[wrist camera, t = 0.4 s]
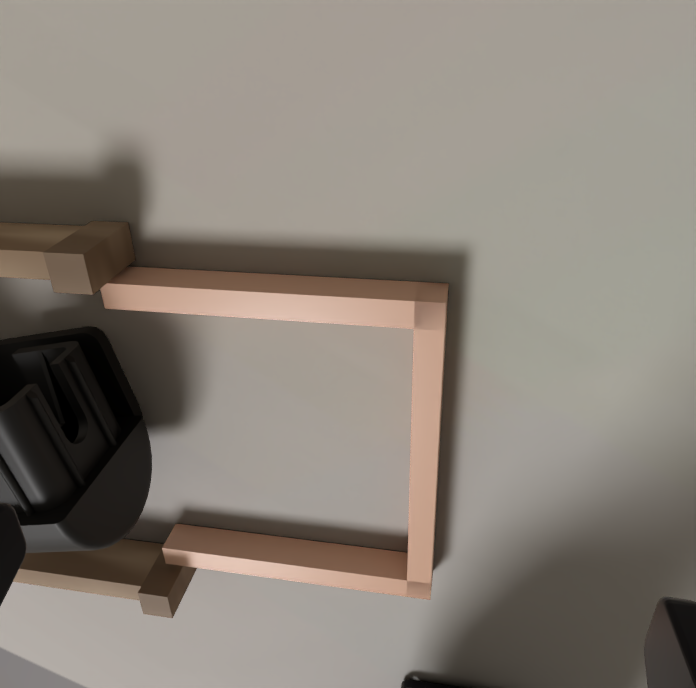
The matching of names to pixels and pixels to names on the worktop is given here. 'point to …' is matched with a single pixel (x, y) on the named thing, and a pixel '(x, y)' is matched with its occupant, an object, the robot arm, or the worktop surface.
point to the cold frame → (87, 278)
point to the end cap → (70, 441)
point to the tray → (322, 307)
